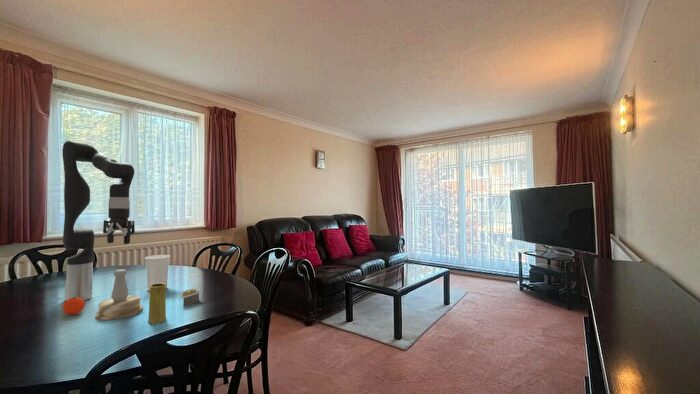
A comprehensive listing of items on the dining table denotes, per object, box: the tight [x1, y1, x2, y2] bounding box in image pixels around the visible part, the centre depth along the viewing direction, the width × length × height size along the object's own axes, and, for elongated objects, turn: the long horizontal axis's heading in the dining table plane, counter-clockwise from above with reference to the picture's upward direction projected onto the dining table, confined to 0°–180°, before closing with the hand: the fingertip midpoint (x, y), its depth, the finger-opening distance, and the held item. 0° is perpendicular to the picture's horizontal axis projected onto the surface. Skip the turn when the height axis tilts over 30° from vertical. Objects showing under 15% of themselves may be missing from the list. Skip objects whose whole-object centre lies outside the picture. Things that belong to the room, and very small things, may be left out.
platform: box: [179, 288, 203, 307], centre depth 139 cm, size 12×18×7 cm, turn 155°
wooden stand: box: [94, 294, 144, 321], centre depth 127 cm, size 16×16×5 cm
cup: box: [144, 254, 171, 293], centre depth 159 cm, size 11×11×17 cm
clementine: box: [62, 297, 86, 316], centre depth 125 cm, size 8×7×7 cm
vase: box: [147, 283, 167, 325], centre depth 119 cm, size 6×6×14 cm
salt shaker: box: [110, 269, 129, 302], centre depth 127 cm, size 6×6×13 cm
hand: (118, 243), depth 134 cm, fingers open, 8 cm apart
